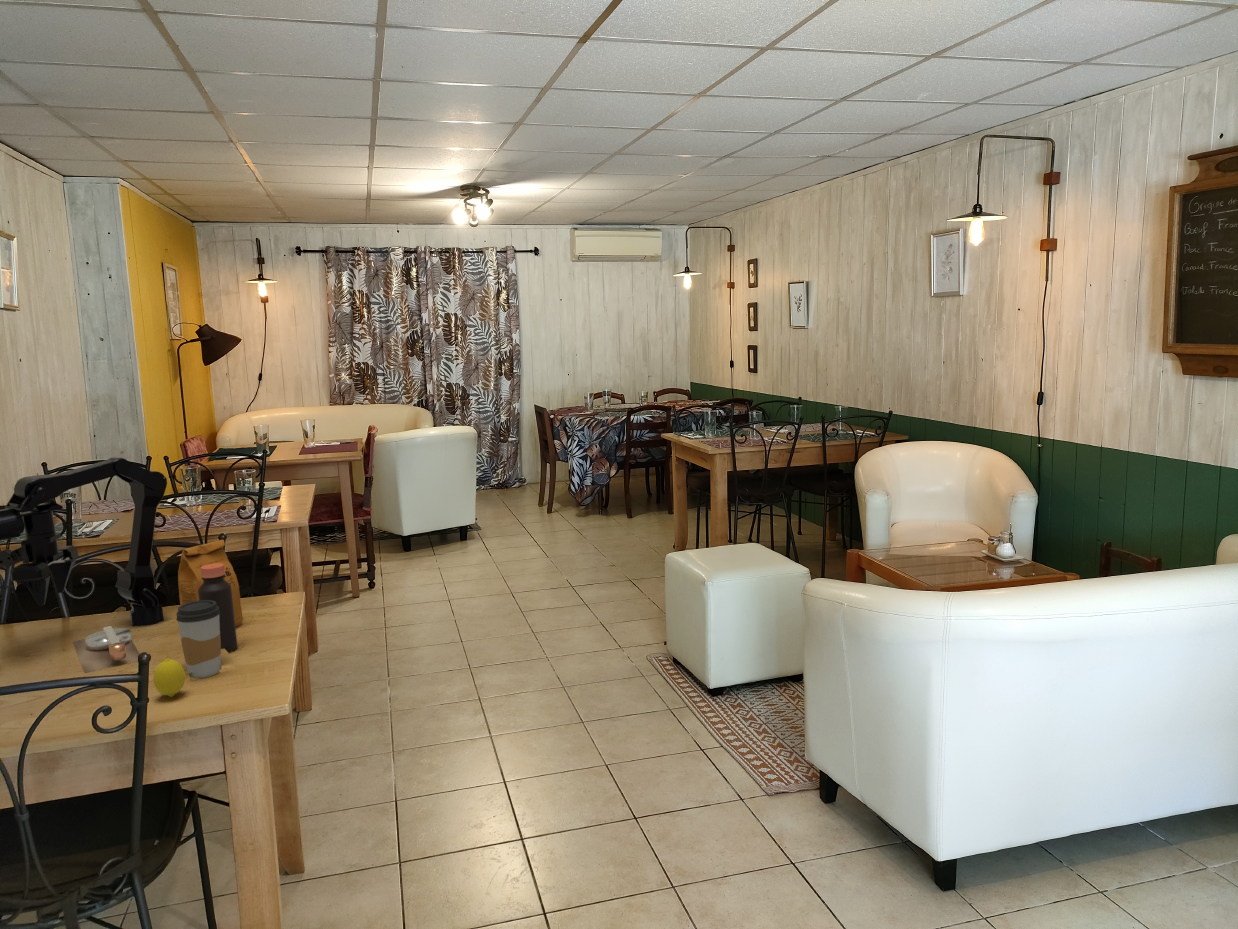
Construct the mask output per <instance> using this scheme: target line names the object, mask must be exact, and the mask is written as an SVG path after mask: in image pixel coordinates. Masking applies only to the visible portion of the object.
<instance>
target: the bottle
mask: <svg viewBox="0 0 1238 929" xmlns="http://www.w3.org/2000/svg"><path fill="white" fill-rule="evenodd" d="M200 570H201V577H202V580H203V584H202V585H201V586H200V588H199V589H198V595H199V601H201V600H212V601H215V602H216V604H217V606H218V607H219V611H220V614H219V623H220V640H221V650H222V649H224V650H225V651H226V652H227V653H229V654H230V653H232V652H235V650H237V648H238V638H237V629H236V627H235V619H234V609H233V600H232V590H231V585H230V584H229V583H228V582H227V581H225V580H224V576H225V568H224V564H222V563H213V564H207V565H204V566H202V567H200Z"/></svg>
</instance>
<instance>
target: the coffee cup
mask: <svg viewBox="0 0 1238 929" xmlns="http://www.w3.org/2000/svg"><path fill="white" fill-rule="evenodd" d="M219 614H220V611H219V607H218V606H217V604H216V602H215V601H212V600H201V601H194V602H190V603H186V604H183V605H181V606H180V605H179V607H178V608H177V612H176V618H175V619H176V621H177V624H178V629H179V634H180V641H181V646H182V652H183V656H184V657H183V658H184V662H185V665H186V670H187V672H189V673H188V675H189V677H190V678H193V679H204V678H208V677H213V676H214V675H217V674H219V672H220V670H221V668H222V666H221V664H222V658H221V657H222V656H221V654H222V649H221V640H220V623H219Z"/></svg>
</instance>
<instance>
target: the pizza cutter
mask: <svg viewBox="0 0 1238 929" xmlns="http://www.w3.org/2000/svg"><path fill="white" fill-rule="evenodd" d="M84 639H85V641H86V648H87V649H88V650H107V649H109V652H110V660H112V661H116V660H121V659H124V658H126V650H125V644H127V643H129V642H130V641H131V640H132V633H131V629H130V628H123V627H121V628H118V627H116V628H113V627H112V625H109V626H104V627H102V630H100V631H96V632H93V633H91V634H89V635H88V636H86V637H85V638H84Z"/></svg>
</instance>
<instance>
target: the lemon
mask: <svg viewBox="0 0 1238 929" xmlns="http://www.w3.org/2000/svg"><path fill="white" fill-rule="evenodd" d="M185 672H186V671H185V670H184V667H183V666H182V664H181V663H180V662H179V661H177V660H175V659H170V658H165V659H164V660H163V661H161V662H160V663H158V664H157V666H156V667H155V669H154V673H153V686H154V688H155V690H156V691H158V693H160V694H161V695H163V696H168V697H169V698H173V697H175V695H176V694H177V693H179V692H180V691H181V690H182V689H183V688H184V686H185V682H186V673H185Z"/></svg>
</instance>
